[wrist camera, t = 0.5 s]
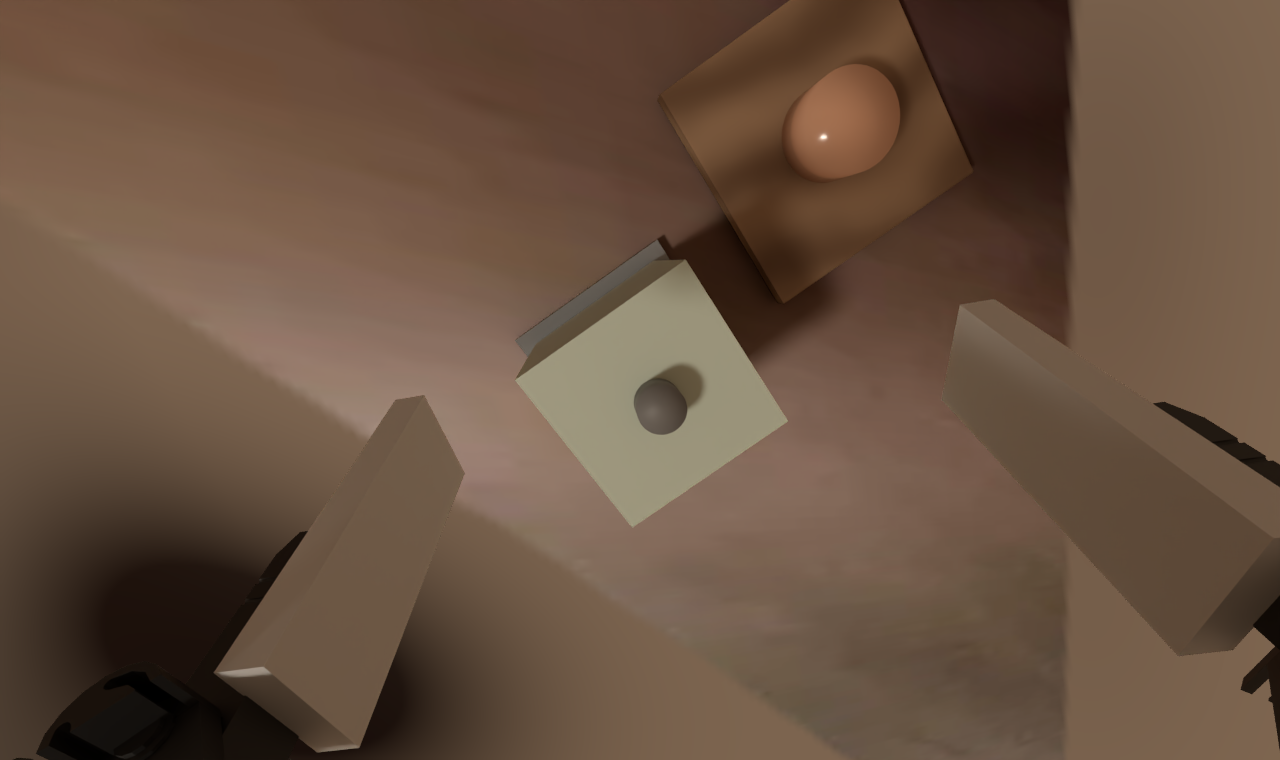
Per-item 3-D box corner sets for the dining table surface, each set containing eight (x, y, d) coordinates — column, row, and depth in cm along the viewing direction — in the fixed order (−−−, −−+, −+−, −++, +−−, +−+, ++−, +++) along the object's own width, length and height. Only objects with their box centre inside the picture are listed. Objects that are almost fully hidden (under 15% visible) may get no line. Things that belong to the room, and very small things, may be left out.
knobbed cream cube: (535, 343, 34) (510, 388, 22) (653, 260, 34) (693, 259, 22) (617, 451, 37) (635, 544, 25) (728, 375, 37) (801, 431, 24)
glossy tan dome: (771, 102, 32) (793, 83, 29) (856, 72, 32) (889, 49, 29) (794, 195, 33) (818, 187, 30) (875, 165, 34) (908, 155, 30)
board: (657, 100, 32) (660, 94, 31) (862, -48, 32) (872, -60, 30) (777, 302, 36) (783, 303, 35) (960, 174, 36) (973, 171, 35)
